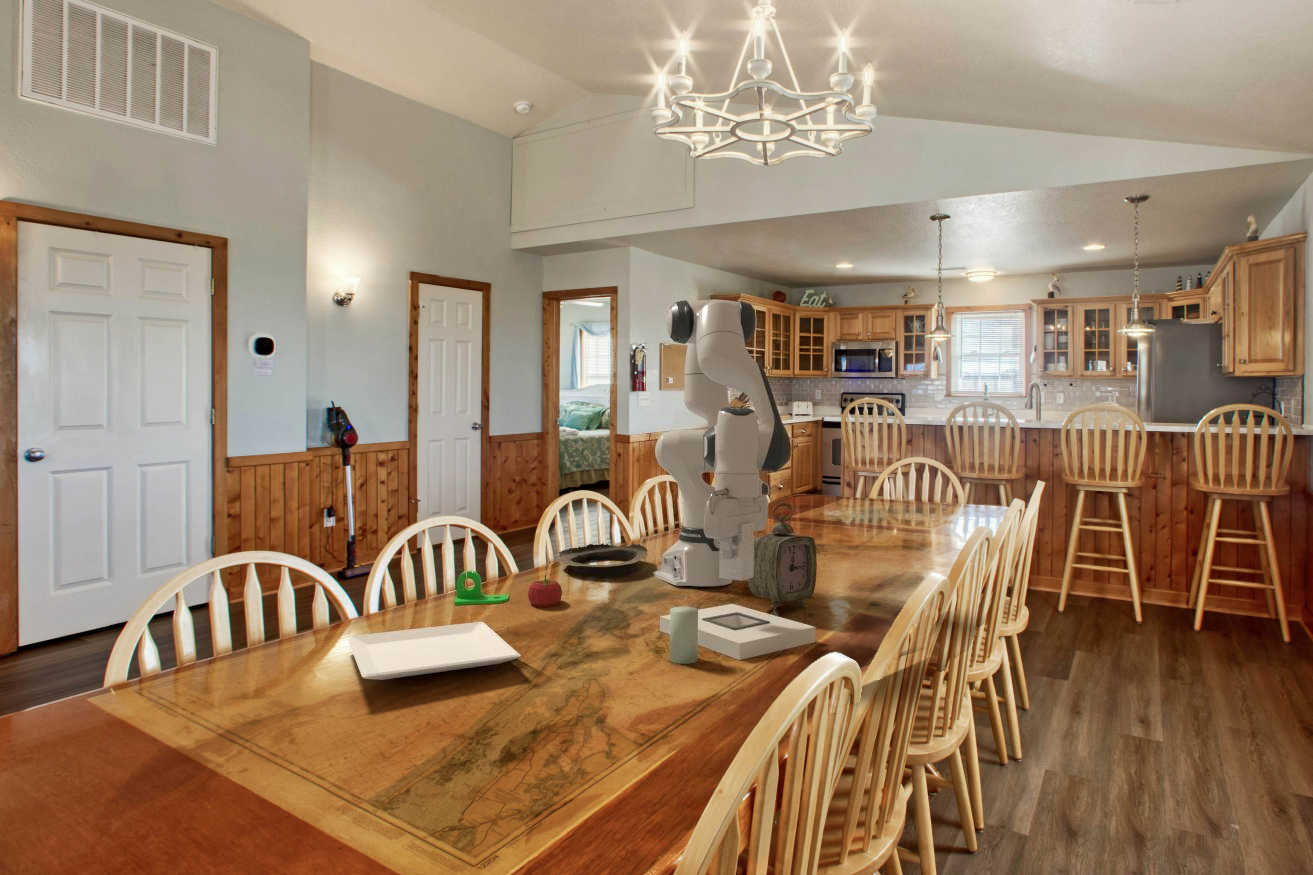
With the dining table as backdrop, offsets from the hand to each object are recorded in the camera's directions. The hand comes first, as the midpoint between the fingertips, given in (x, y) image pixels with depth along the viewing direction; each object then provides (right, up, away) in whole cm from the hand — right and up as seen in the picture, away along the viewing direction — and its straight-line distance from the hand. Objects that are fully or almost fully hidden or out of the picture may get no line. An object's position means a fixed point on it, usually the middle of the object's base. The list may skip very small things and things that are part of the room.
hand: (736, 556), depth 150 cm
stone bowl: (-30, -16, +55) cm, 64 cm away
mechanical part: (-57, -16, +25) cm, 64 cm away
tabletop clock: (+12, -16, +21) cm, 29 cm away
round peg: (-11, -16, -15) cm, 25 cm away
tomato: (-42, -16, +23) cm, 50 cm away
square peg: (0, -4, 0) cm, 4 cm away
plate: (-57, -16, -13) cm, 61 cm away
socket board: (0, -16, 0) cm, 16 cm away
